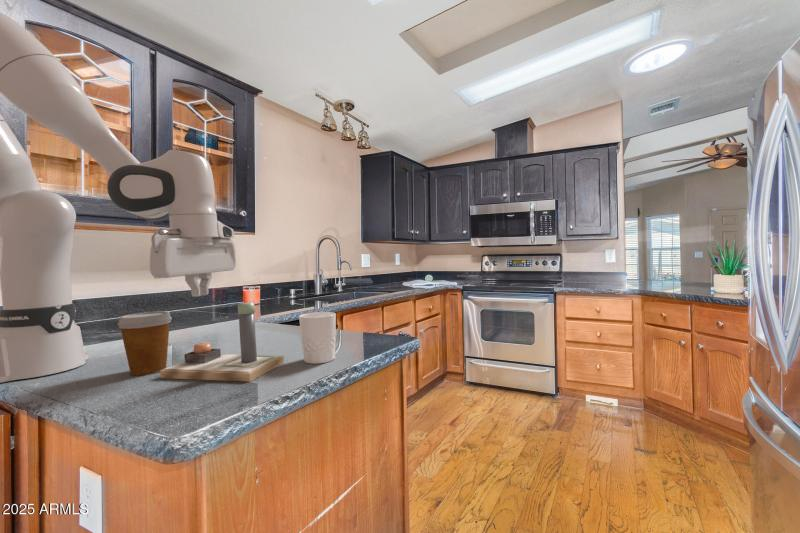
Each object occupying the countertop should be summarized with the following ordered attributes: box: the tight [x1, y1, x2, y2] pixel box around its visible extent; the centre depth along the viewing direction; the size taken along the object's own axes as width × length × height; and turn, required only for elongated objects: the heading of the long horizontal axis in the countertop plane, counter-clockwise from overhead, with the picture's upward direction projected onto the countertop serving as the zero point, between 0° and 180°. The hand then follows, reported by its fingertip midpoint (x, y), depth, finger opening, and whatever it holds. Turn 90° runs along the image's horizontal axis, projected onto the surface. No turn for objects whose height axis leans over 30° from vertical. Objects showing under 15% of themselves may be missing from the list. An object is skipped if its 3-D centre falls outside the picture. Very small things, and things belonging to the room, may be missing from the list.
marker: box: [237, 301, 258, 363], centre depth 77 cm, size 3×3×12 cm
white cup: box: [298, 311, 337, 365], centre depth 82 cm, size 8×8×10 cm
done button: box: [193, 342, 212, 354], centre depth 79 cm, size 3×3×2 cm
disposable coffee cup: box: [117, 310, 173, 376], centre depth 79 cm, size 10×10×12 cm
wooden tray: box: [159, 348, 285, 382], centre depth 77 cm, size 20×12×4 cm, turn 77°
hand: (200, 295), depth 79 cm, fingers closed
